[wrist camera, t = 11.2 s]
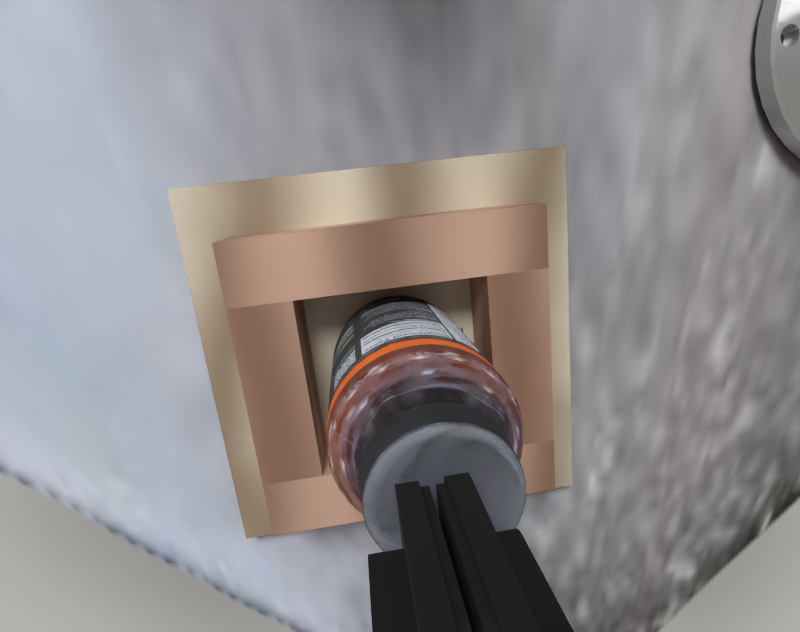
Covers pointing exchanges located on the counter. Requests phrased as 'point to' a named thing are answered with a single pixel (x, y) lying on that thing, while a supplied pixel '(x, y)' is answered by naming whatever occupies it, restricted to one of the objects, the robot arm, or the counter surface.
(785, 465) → the counter surface
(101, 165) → the counter surface
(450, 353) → the supplement bottle
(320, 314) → the socket board
